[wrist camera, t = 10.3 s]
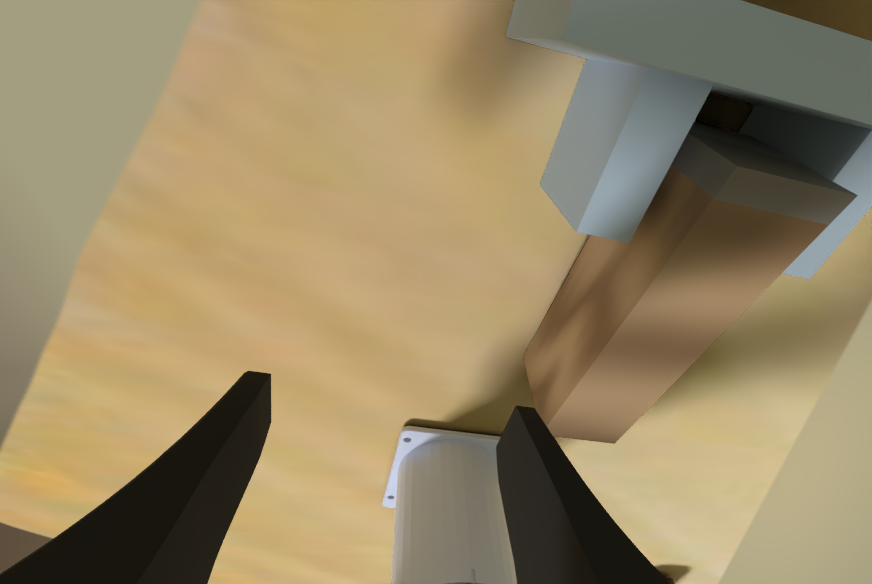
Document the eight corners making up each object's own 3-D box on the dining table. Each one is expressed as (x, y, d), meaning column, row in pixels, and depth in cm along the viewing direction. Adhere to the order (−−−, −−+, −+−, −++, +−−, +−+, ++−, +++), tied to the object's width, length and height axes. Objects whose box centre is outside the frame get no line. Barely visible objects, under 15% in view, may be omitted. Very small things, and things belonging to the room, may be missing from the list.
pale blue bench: (782, 237, 20) (936, 325, 14) (469, 169, 17) (494, 240, 11) (890, 94, 16) (1157, 130, 10) (518, -14, 14) (589, -47, 8)
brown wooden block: (585, 366, 24) (614, 443, 20) (523, 357, 23) (540, 434, 20) (751, 136, 15) (858, 195, 11) (658, 112, 15) (737, 166, 11)
